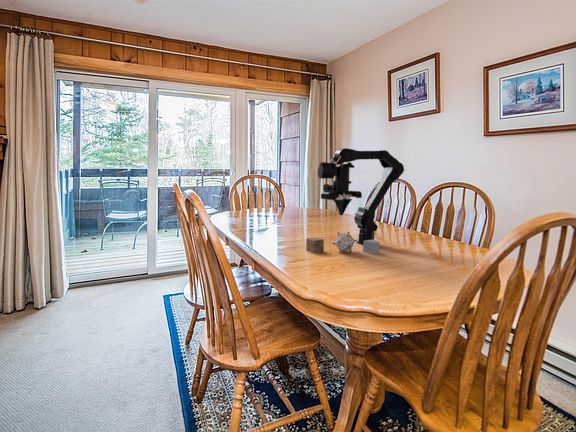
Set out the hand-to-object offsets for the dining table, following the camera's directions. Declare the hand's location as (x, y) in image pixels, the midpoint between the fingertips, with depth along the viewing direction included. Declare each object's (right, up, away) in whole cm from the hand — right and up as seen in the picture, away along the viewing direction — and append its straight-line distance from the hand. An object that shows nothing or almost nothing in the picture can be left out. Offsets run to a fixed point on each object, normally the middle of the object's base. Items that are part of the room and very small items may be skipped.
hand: (341, 215), depth 152 cm
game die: (0, -15, -10) cm, 18 cm away
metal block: (-12, -15, -9) cm, 21 cm away
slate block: (+11, -15, -10) cm, 21 cm away
